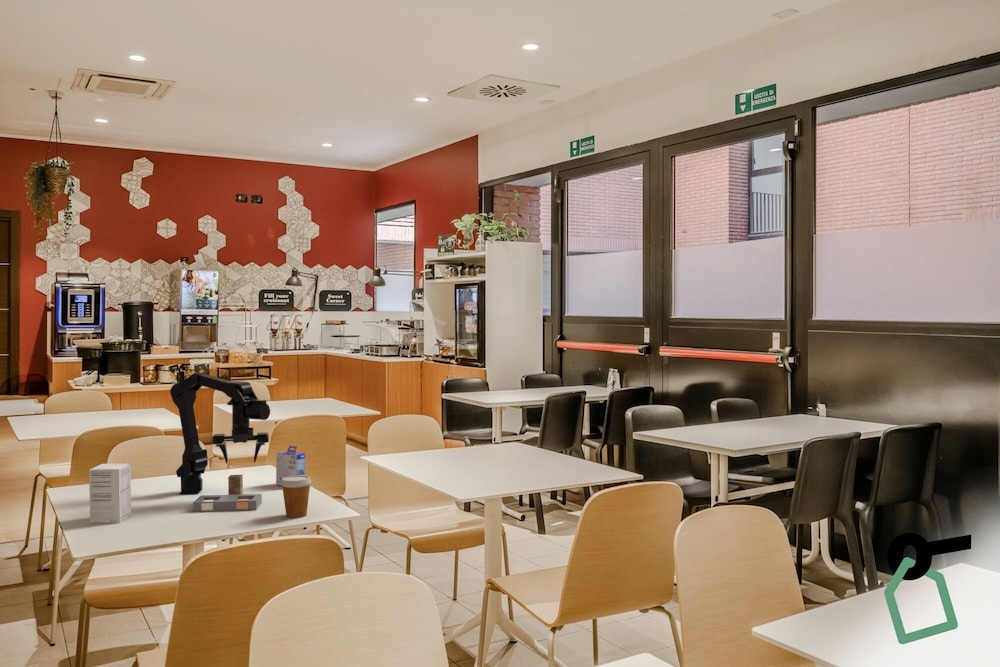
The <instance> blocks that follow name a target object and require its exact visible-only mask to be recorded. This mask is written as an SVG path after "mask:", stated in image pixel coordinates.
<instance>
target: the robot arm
mask: <svg viewBox="0 0 1000 667" xmlns="http://www.w3.org/2000/svg"><path fill="white" fill-rule="evenodd" d="M202 387H206V388H208V389H212V390H215V391H219V392H222V393H224V394H225V395H226V396H227V398H228V397H229V398H230V400H229V401H228V402H227V403H226V405H227V406H231V409H232V410H231V412H232V413H231V414H232V415H231V417H232V418H231V419H232V420H231V422H232V423H231V428H232V429H231V435H226V434H225V433H214V434H213V435H212V437H211V444H212V445H215V447H219V449H220V450H221V451H220V452H222V455H223V457H224V461H225V463H226V464H228V463H229V462H228V460H229V459H228V450H227V442H232V443H233V444H237V443H242V444H243V443H244V444H245V443H248V441H256V442H255V449H254V450H255V451H254V455H253V463H256V461H257V457H258V454H259V452H260V449H261V447H262V446H265V444H266V443H269V442H270V439H269V438H270V435H269V432H266V431H265V432H257V434H254V427H250V420H259V421H260V420H261V421H266V420H268V419H269V417H270V415H271V407H270V405H269V404H268V403H267V400H266V399H262V400H261V399H259V397H258V396H257V394H256V393H255V391H254V389H253V387H252V384H251V383H250V382H249V381H240V380H239V381H238V380H237V381H235V380H234V381H233V380H227V379H224V378H221V377H218V376H213V375H211V374H207V373H205V372H194V373H193V374H191V375H190V376H188V377H186V378H185V379H183V380H181V381H179V382H178V383H174V384H173V385H172V386H171V387H170V392H169V393H170V396H171V399H172V402H173V403H174V404H175V406H176V407H177V409H178V414H179V418H180V425H181V430H182V436H183V444H184V451H183V453H182V456H181V464H180V466H179V467H178V468H177V469H176V471H175V473H176V477H177V478H180V492H179V495H191V494H193V495H194V494H196V495H197V494H200V492H202V491H203V488H204V487H203V478H202V474H205V471H206V468H207V467H208V464H209V461H210V459H209V457H208V450H207V449H206V448H205V449H203V447H202V446H201V445H200V439H199V434H198V433H199V432H198V427H197V422H196V415H195V409H194V405H195V403H196V400H197V392H198V391H199V390H200V389H201V388H202Z"/></svg>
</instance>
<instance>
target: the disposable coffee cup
mask: <svg viewBox="0 0 1000 667" xmlns="http://www.w3.org/2000/svg"><path fill="white" fill-rule="evenodd" d="M281 484H282V486H281V487H282V494H283V495H282V496H283V501H284V502H283V503H284V508H285V517H286V518H289V517H290V518H289V519H291V518H292V519H299V518H298V517H300V518H303V516H304V517H306V516H308V515H307V514H308V513H307V512H308V506H309V497H310V488H311V484H312V480H311V477H310V476H309V475H305V476H304V475H295V476H287V477H284V478H282V482H281Z"/></svg>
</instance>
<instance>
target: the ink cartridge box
mask: <svg viewBox="0 0 1000 667" xmlns="http://www.w3.org/2000/svg"><path fill="white" fill-rule="evenodd" d="M297 447H298V446H295V445H289V446H288V449H287V451H281V452H277V453H276V455H275V456H276V460H275V461H276V462H275V466H276V467H275V470H276V471H275V472H276V473H275V476H276V479H275V485H276V486H281V487H282V484H281V482H282V478H284V477H287V476H295V475H304V476H306V452H297V449H298V448H297Z"/></svg>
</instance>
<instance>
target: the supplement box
mask: <svg viewBox="0 0 1000 667" xmlns="http://www.w3.org/2000/svg"><path fill="white" fill-rule="evenodd" d="M131 474H132V470H131V463H101V464H99V465H97V466H96V465H95V466H94V467H93V468H90V469H89V470H88V476H89V478H88V481H89V524H121V523H122V522H124V521H125V520H126V519H128V518H129V517H131V516H132V488H131V486H132V485H131Z"/></svg>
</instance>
